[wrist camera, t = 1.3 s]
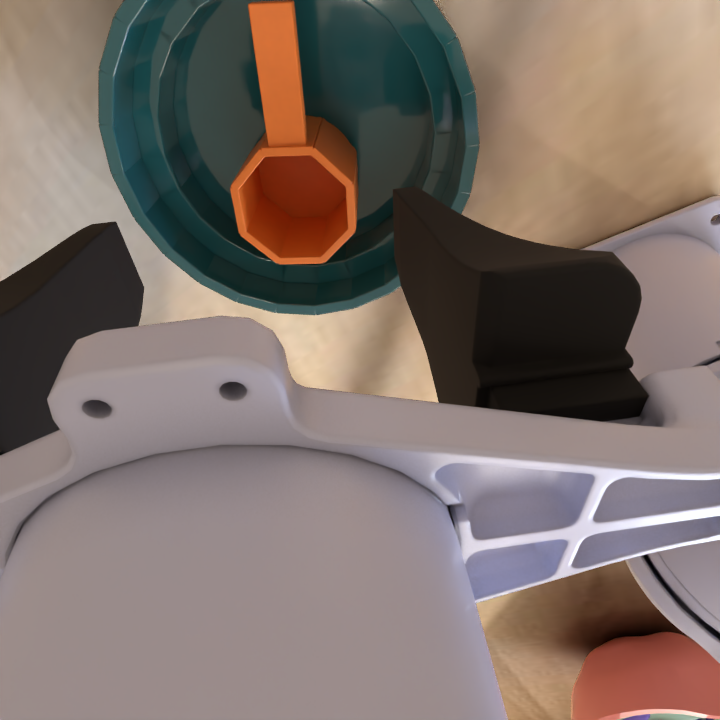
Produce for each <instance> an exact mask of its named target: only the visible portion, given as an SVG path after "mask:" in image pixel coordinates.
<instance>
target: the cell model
mask: <svg viewBox="0 0 720 720" xmlns="http://www.w3.org/2000/svg"><path fill="white" fill-rule="evenodd" d="M571 720H720V663H719V662H718V661H717V660H716V659H714V658H713V657H712V656H711V655H710V654H709V653H708V652H707V651H706V650H705V649H704V648H703V647H701V646H700V645H699V644H698V643H697V642H696V641H694V640H693V639H691V638H689V637H686V636H684V635H682V634H679V633H674V632H659V633H654V634H650V635H645V636H624V637H618V638H615V639H612V640H610V641H608V642H606V643H604V644H602V645H600V646H598V647H597V648H595V649H594V650H592V651H591V652H590V653H589V654H588V655H587V656H586V658H585V660H584V663H583V665H582V668H581V670H580V672H579V674H578V677H577V679H576V681H575V683H574V685H573V689H572V693H571Z"/></svg>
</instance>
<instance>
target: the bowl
mask: <svg viewBox="0 0 720 720" xmlns="http://www.w3.org/2000/svg"><path fill="white" fill-rule="evenodd" d="M260 1H282V0H124V1H123V2H122V4H121V5H120V7H119V8H118V10H117V11H116V13H115V16H114V17H113V20H112V24H111V27H110V31H109V34H108V38H107V41H106V45H105V48H104V52H103V55H102V59H101V62H100V66H99V69H100V70H99V123H100V124H99V128H100V132H101V136H102V140H103V144H104V148H105V152H106V156H107V160H108V164H109V167H110V171H111V174H112V177H113V179H114V181H115V182H116V184H117V186H118V188H119V190H120V192H121V194H122V196H123V198H124V200H125V202H126V204H127V206H128V208H129V210H130V212H131V214H132V216H133V217H134V218H135V220H136V222H137V223H138V224H139V225H140V226H141V228H142V229H143V230H144V231H145V232H146V234H147V235H148V236H149V237H150V239H151V240H152V241H153V242H154V243H155V245H156V246H157V247H158V248H159V250H160V251H161V252H162V253H163V254H165V256H166V257H167V258H168V259H170V260H171V261H172V262H173V263H175V264H176V265H177V266H178V267H180V268H181V269H182V270H183V271H185V272H186V273H187V274H188V275H190V276H191V277H192V278H193V279H195V280H196V281H197V282H199V283H200V284H202V285H204V286H206V287H208V288H210V289H211V290H213V291H215V292H217V293H219V294H221V295H223V296H225V297H227V298H229V299H231V300H233V301H235V302H238V303H241V304H245V305H248V306H252V307H256V308H259V309H263V310H267V311H270V312H274V313H276V312H277V313H284V314H303V315H320V314H326V313H332V312H338V311H343V310H349V309H354V308H357V307H360V306H362V305H364V304H367V303H369V302H372V301H374V300H376V299H379V298H381V297H383V296H386V295H388V294H390V293H392V292H393V291H395V290H396V289H398V288H399V287H400V286H401V284H400V279H399V275H398V271H397V266H396V262H395V257H394V219H393V189H398V188H406V187H415V186H416V187H418V188H420V189H422V190H423V191H425V192H426V193H428V194H429V195H431V196H432V197H434V198H435V199H437V200H438V201H440V202H442V203H443V204H445V205H446V206H448V207H450V208H451V209H453V210H454V211H456V212H458V213H460V214H462V211H463V209H464V207H465V205H466V203H467V201H468V199H469V196H470V193H471V189H472V184H473V179H474V173H475V168H476V163H477V157H478V152H479V144H480V141H479V127H478V113H477V98H476V92H475V87H474V84H473V81H472V78H471V75H470V72H469V69H468V66H467V63H466V60H465V57H464V54H463V51H462V48H461V45H460V42H459V40H458V37H457V36H456V33H455V32H454V30H453V29H452V27H451V26H450V24H449V23H448V21H447V20H446V18H445V17H444V15H443V14H442V12H441V11H440V10H439V8H438V7H437V5H436V4H435V2H434V1H433V0H293V1H294V5H295V15H296V25H297V35H298V46H299V56H300V66H301V76H302V87H303V97H304V107H305V115H308V116H314V117H321V118H324V119H325V120H326V121H327V122H329V123H331V124H332V125H334V126H335V127H336V128H337V129H339V130H340V131H341V132H342V133H343V134H344V135H345V137H346V138H347V139H348V141H349V142H350V144H351V145H352V146H353V147H354V148H355V149H356V151H357V166H358V206H357V222H356V231H355V233H354V234H353V235H352V236H351V237H350V238H349V239H348V240H347V241H346V242H345V243H344V244H343V245H342V246H341V247H340V248H339V249H338V250H337V251H336V252H335V253H334V254H333V255H332V256H331V257H330V258H329V259H328V260H327V261H326V262H324V263H318V264H279V263H275V262H274V261H273V260H271V259H270V258H269V257H268V256H266V255H265V254H264V253H262V252H261V251H260V250H258V249H257V248H256V247H255V246H253V245H252V244H251V243H249V242H248V241H247V240H245V239H244V238H243V237H242V236H240V234H239V231H238V226H237V221H236V216H235V211H234V206H233V201H232V196H231V191H230V187H231V184H232V182H233V180H234V179H235V177H236V175H237V174H238V172H239V170H240V169H241V167H242V165H243V164H244V162H245V160H246V159H247V157H248V155H249V154H250V152H251V151H252V149H253V148H254V147H255V145H256V144H257V143H258V142H259V140H260V139H261V138H262V136H263V134H264V133H265V132H266V128H265V121H264V114H263V107H262V100H261V93H260V86H259V79H258V72H257V66H256V59H255V52H254V45H253V38H252V31H251V24H250V17H249V10H248V4H249V3H251V2H260Z"/></svg>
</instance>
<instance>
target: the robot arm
mask: <svg viewBox="0 0 720 720" xmlns="http://www.w3.org/2000/svg"><path fill="white" fill-rule="evenodd" d="M717 214H719V216H718V218H717V219H716V220H714V221H711V219H712V218H713V216H715V215H717ZM393 219H394V257H395V262H396V266H397V271H398V275H399V279H400V284H401V287H402V289H403V292H404V295H405V297H406V300H407V302H408V305H409V308H410V310H411V313H412V315H413V318H414V320H415V323H416V325H417V328H418V330H419V333H420V336H421V338H422V341H423V344H424V347H425V350H426V353H427V356H428V360H429V364H430V368H431V372H432V376H433V380H434V384H435V388H436V393H437V397H438V401H439V403H436V402H428V401H419V400H411V399H402V398H393V397H385V396H376V395H367V394H359V393H350V392H342V391H333V390H324V389H316V388H307V387H303V386H301V385H299V384H297V383H296V382H295V381H294V380H293V378H292V376H291V374H290V371H289V368H288V364H287V359H286V355H285V351H284V348H283V346H282V345H281V343H280V341H279V340H278V338H277V337H276V335H275V333H274V332H273V330H271V329H269V328H267V327H265V326H263V325H262V324H260V323H258V322H256V321H254V320H252V319H250V318H242V317H229V316H216V317H208V318H200V319H192V320H184V321H176V322H168V323H160V324H152V325H144V326H138V325H139V321H140V318H141V311H142V304H143V293H144V286H143V284H142V282H141V279H140V277H139V275H138V272H137V270H136V267H135V265H134V263H133V260H132V258H131V256H130V253H129V251H128V249H127V246H126V244H125V242H124V239H123V237H122V235H121V232H120V230H119V228H118V225H117V223H116V222H108V223H99V224H92V225H89V226H87V227H85V228H83V229H81V230H80V231H78V232H76V233H75V234H73V235H72V236H70V237H69V238H67V239H66V240H64V241H63V242H61V243H60V244H58V245H57V246H55V247H54V248H52V249H51V250H49V251H48V252H46V253H45V254H44V255H42V256H41V257H39V258H38V259H36V260H35V261H33V262H31V263H30V264H28V265H27V266H25V267H23V268H22V269H20V270H19V271H17V272H15V273H14V274H12V275H11V276H9V277H8V278H6V279H4V280H2V281H1V282H0V720H508V718H507V714H506V711H505V707H504V703H503V700H502V696H501V693H500V689H499V685H498V682H497V678H496V675H495V671H494V667H493V664H492V660H491V657H490V653H489V649H488V646H487V642H486V638H485V635H484V631H483V628H482V624H481V620H480V617H479V613H478V610H477V606H476V603H479V602H482V601H485V600H489V599H492V598H496V597H499V596H502V595H506V594H509V593H513V592H516V591H519V590H523V589H526V588H530V587H533V586H536V585H540V584H543V583H547V582H550V581H553V580H557V579H560V578H564V577H567V576H570V575H574V574H577V573H581V572H584V571H587V570H591V569H594V568H598V567H601V566H604V565H608V564H612V563H615V562H619V561H623V560H625V561H626V563H627V565H628V567H629V569H630V571H631V573H632V575H633V576H634V578H635V580H636V581H637V583H638V584H639V586H640V587H641V589H642V590H643V592H644V593H645V594H646V596H647V597H648V598H649V599H650V601H651V602H652V603H653V604H654V605H655V607H656V608H657V609H658V610H659V611H660V612H661V613H662V614H663V615H664V616H665V617H666V618H667V619H668V620H669V621H670V622H671V623H672V624H673V625H675V626H676V627H677V628H678V629H679V630H681V631H682V632H683V633H685V634H686V635H687V636H689V637H690V638H692V639H693V640H694V641H696V642H697V643H698V644H699V645H700V646H701V647H703V648H704V649H705V650H706V651H707V652H708V653H709V654H710V655H711V656H712V657H713V658H714V659H716V660H717V661H718V662H719V663H720V196H713V197H710V198H707V199H705V200H702V201H700V202H697V203H695V204H692V205H690V206H687V207H685V208H682V209H680V210H678V211H675V212H673V213H670V214H668V215H665V216H663V217H660V218H658V219H655V220H653V221H650V222H648V223H645V224H643V225H640V226H638V227H635V228H633V229H630V230H628V231H625V232H623V233H620V234H618V235H615V236H613V237H610V238H608V239H605V240H603V241H600V242H598V243H595V244H593V245H590V246H588V247H585V248H583V249H580V250H579V249H569V248H563V247H556V246H549V245H544V244H539V243H535V242H531V241H527V240H523V239H519V238H516V237H512V236H509V235H506V234H503V233H501V232H498V231H496V230H493V229H490V228H488V227H485V226H483V225H481V224H479V223H477V222H475V221H473V220H471V219H469V218H467V217H465V216H463V215H461V214H460V213H458V212H456V211H454V210H453V209H451V208H450V207H448V206H446V205H445V204H443V203H442V202H440V201H438V200H437V199H435V198H434V197H432V196H431V195H429V194H428V193H426V192H425V191H423V190H422V189H420V188H418V187H416V186H415V187H406V188H398V189H393Z"/></svg>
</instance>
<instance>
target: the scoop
mask: <svg viewBox="0 0 720 720" xmlns="http://www.w3.org/2000/svg"><path fill="white" fill-rule="evenodd" d="M248 10H249V17H250V24H251V31H252V38H253V45H254V52H255V59H256V66H257V72H258V79H259V86H260V93H261V100H262V107H263V114H264V121H265V128H266V132H265V133H264V134H263V136H262V138H261V139H260V140H259V142H258V143H257V144H256V145H255V147H254V148H253V149H252V151H251V152H250V154H249V155H248V157H247V159H246V160H245V162H244V164H243V165H242V167H241V169H240V170H239V172H238V174H237V175H236V177H235V179H234V180H233V182H232V184H231V187H230V191H231V196H232V201H233V206H234V211H235V216H236V221H237V226H238V231H239V234H240V236H242V237H243V238H244V239H245V240H247V241H248V242H249V243H251V244H252V245H253V246H255V247H256V248H257V249H258V250H260V251H261V252H262V253H264V254H265V255H266V256H268V257H269V258H270V259H271V260H273V261H274V262H275V263H279V264H318V263H324V262H326V261H327V260H328V259H329V258H330V257H331V256H332V255H333V254H334V253H335V252H336V251H337V250H338V249H339V248H340V247H341V246H342V245H343V244H344V243H345V242H346V241H347V240H348V239H349V238H350V237H351V236H352V235H353V234H354V233H355V231H356V222H357V206H358V166H357V151H356V149H355V148H354V147H353V146H352V145H351V144H350V142H349V141H348V139H347V138H346V137H345V135H344V134H343V133H342V132H341V131H340V130H339V129H337V128H336V127H335V126H334V125H332V124H331V123H329V122H327V121H326V120H325V119H324V118H321V117H314V116H308V115H305V107H304V97H303V87H302V76H301V66H300V56H299V46H298V35H297V25H296V15H295V5H294V1H293V0H282V1H260V2H251V3H249V4H248Z"/></svg>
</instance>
